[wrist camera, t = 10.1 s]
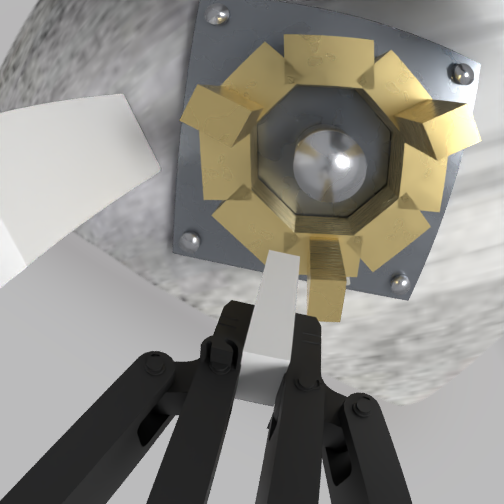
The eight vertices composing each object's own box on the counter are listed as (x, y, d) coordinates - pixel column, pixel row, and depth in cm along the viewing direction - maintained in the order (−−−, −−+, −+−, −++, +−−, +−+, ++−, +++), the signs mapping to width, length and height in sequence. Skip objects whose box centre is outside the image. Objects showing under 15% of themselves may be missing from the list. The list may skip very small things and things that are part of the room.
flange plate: (204, -1, 17) (177, -23, 12) (474, 64, 16) (514, 62, 11) (176, 247, 27) (150, 282, 22) (405, 293, 26) (421, 335, 21)
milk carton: (124, 92, 21) (-113, 151, 4) (163, 170, 24) (-37, 325, 7) (66, 137, 23) (-124, 227, 7) (101, 205, 26) (-65, 344, 9)
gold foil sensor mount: (219, 249, 25) (187, 314, 18) (209, 46, 18) (160, 24, 11) (412, 259, 23) (447, 325, 16) (434, 59, 16) (495, 49, 9)
